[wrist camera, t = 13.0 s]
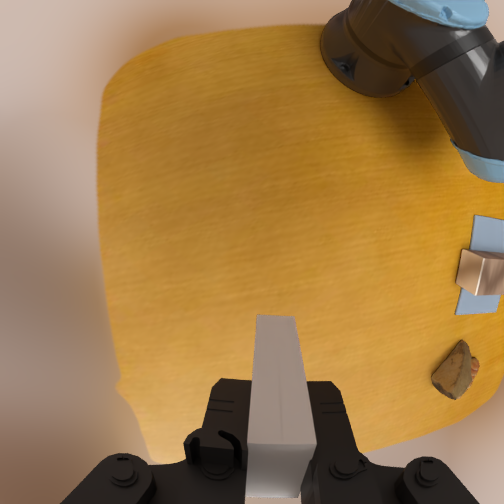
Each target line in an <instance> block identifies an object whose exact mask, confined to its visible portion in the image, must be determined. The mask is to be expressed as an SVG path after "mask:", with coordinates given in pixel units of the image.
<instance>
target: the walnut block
mask: <svg viewBox="0 0 504 504" xmlns="http://www.w3.org/2000/svg"><path fill="white" fill-rule="evenodd" d="M456 284H458V285H459V286H461V287H462V288H464V289H465V290H467V291H469V292H470V293H472V294H473V295H475V296H480V295H504V253H499V252H488V251H477V250H466V249H462V255H461V260H460V266H459V271H458V275H457V280H456Z"/></svg>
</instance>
